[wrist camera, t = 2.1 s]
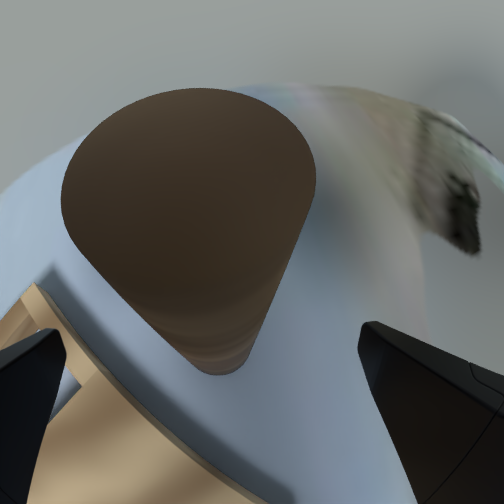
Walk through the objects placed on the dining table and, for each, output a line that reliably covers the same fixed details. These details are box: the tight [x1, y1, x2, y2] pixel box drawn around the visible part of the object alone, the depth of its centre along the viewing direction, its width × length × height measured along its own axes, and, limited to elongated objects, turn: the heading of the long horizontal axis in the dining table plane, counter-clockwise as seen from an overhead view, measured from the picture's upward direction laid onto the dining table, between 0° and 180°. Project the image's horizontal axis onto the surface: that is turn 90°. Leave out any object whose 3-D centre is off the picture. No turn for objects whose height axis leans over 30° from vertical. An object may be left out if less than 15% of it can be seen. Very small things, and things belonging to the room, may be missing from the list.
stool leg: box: [61, 88, 316, 375], centre depth 11 cm, size 4×4×15 cm
